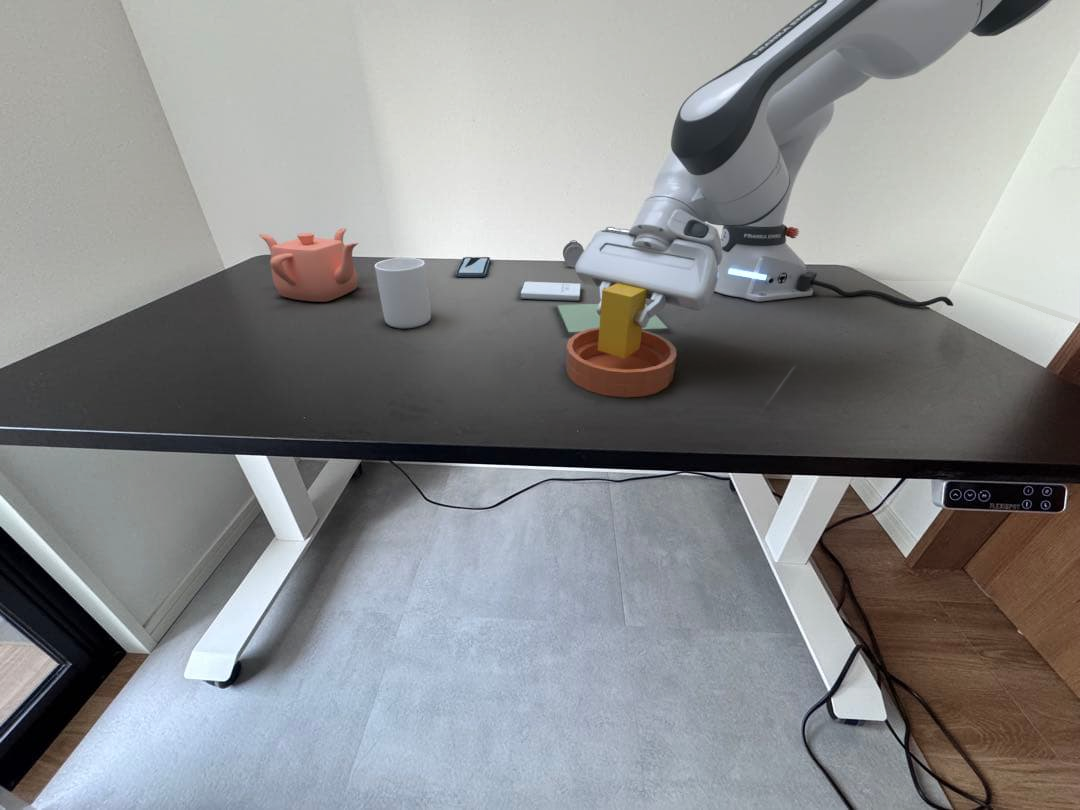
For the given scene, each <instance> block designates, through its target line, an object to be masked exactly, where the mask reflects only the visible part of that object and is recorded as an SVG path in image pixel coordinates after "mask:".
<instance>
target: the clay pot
mask: <svg viewBox="0 0 1080 810" xmlns="http://www.w3.org/2000/svg"><path fill="white" fill-rule="evenodd" d="M598 339H599V327H598V328H593V329H587V330H585V331H582V332H579V333H574V335H572V336H571V337H570V338H569V339H568V340H567V341H568V342H567V344H566V350H565V351H566V352H565V353H566V354H565V357H566V358H565V371H566V374H567V377H568V378H569V380H571V381H572V382H573V383H574V384H575V385H576V386H578V387H579V388H582V389H584V390H586V391H587V392H591V393H593V394H597V395H602V396H607V397H615V398H641V397H642V398H643V397H646V396H650V395H654V394H658V393H659V392H661V391H663V390H665V389H666V388H668V387H669V385H670V384H671V382H672V381H673V378H674V373H675V367H676V362H677V356H678V355H677V348H676V347H675V345H674V344H673V343H672V342H671V341H670V340H668V339H666V338H665V337H663V336H661V335H659V334H658V333H654V332H652V331H650V330H642V334H641V342H640V348H639V349H638V350H637V351H635V352H634V353H632V354H631V355H629V356H628V357H626V358H625V359H623V358H620V357H617V356H614V355H611V354H608V353H605V352H602V351H599V350H598Z"/></svg>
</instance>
